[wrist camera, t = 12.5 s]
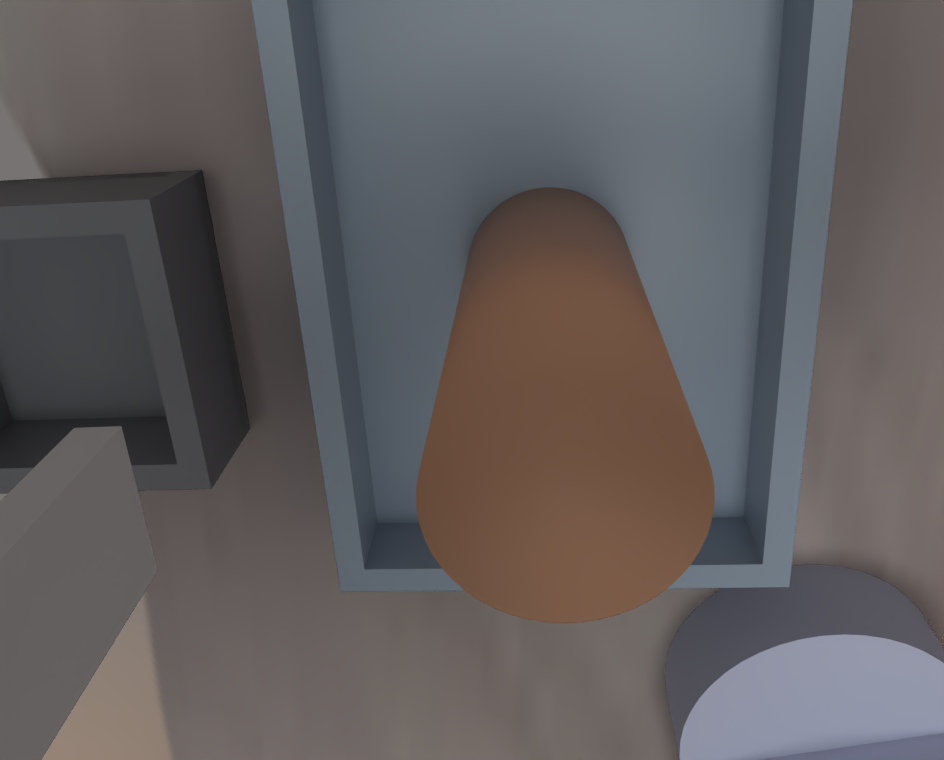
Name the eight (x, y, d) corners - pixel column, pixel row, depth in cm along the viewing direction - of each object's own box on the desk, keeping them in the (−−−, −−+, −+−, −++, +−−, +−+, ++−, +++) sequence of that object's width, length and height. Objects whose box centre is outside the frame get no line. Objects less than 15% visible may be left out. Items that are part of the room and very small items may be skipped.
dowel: (472, 344, 25) (427, 624, 14) (463, 190, 23) (403, 372, 12) (628, 339, 24) (706, 622, 14) (630, 183, 23) (724, 364, 12)
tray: (358, 534, 28) (340, 592, 26) (274, -84, 21) (236, -95, 18) (763, 527, 27) (789, 587, 25) (822, -126, 20) (867, -144, 17)
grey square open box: (6, 434, 28) (-64, 495, 24) (-74, 184, 24) (-167, 215, 21) (249, 428, 27) (211, 489, 24) (201, 170, 24) (149, 199, 21)
